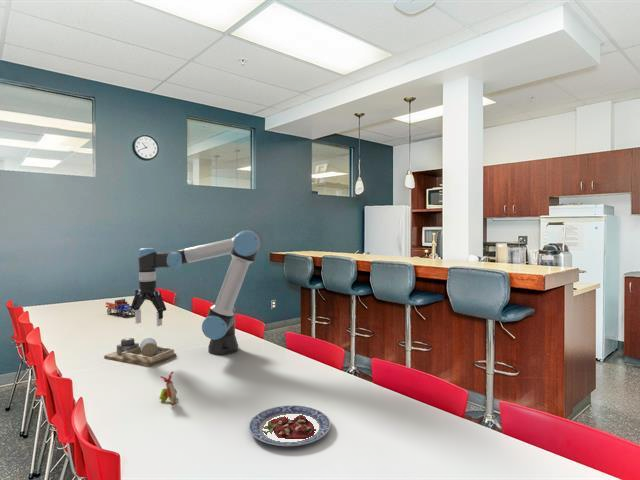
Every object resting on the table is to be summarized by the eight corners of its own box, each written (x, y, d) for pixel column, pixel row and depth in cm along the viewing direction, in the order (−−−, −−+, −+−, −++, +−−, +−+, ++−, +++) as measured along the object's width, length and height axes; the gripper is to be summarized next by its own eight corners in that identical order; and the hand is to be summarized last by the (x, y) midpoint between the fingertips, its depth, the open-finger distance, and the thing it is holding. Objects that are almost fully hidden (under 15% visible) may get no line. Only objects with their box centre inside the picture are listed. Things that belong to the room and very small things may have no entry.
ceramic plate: (328, 411, 142) (328, 402, 142) (333, 452, 117) (333, 442, 117) (254, 411, 142) (254, 403, 142) (242, 453, 116) (242, 442, 116)
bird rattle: (182, 406, 149) (172, 390, 155) (186, 383, 145) (177, 366, 151) (165, 412, 145) (156, 394, 151) (169, 387, 141) (160, 371, 147)
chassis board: (176, 355, 200) (176, 345, 200) (149, 366, 185) (149, 355, 185) (133, 348, 212) (132, 338, 212) (104, 358, 196) (104, 347, 196)
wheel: (137, 350, 203) (137, 338, 203) (127, 354, 198) (127, 341, 197) (128, 349, 206) (128, 337, 205) (118, 352, 200) (118, 340, 200)
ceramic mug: (141, 359, 191) (141, 342, 191) (139, 354, 198) (140, 338, 198) (165, 356, 196) (165, 340, 196) (162, 351, 204) (163, 336, 203)
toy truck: (125, 318, 280) (125, 302, 280) (104, 314, 293) (104, 298, 293) (136, 316, 287) (136, 300, 287) (115, 311, 300) (115, 297, 300)
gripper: (173, 280, 193) (174, 324, 194) (134, 278, 203) (135, 320, 204) (161, 282, 187) (162, 328, 187) (122, 280, 196) (123, 323, 197)
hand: (148, 324), depth 196 cm, fingers open, 13 cm apart
